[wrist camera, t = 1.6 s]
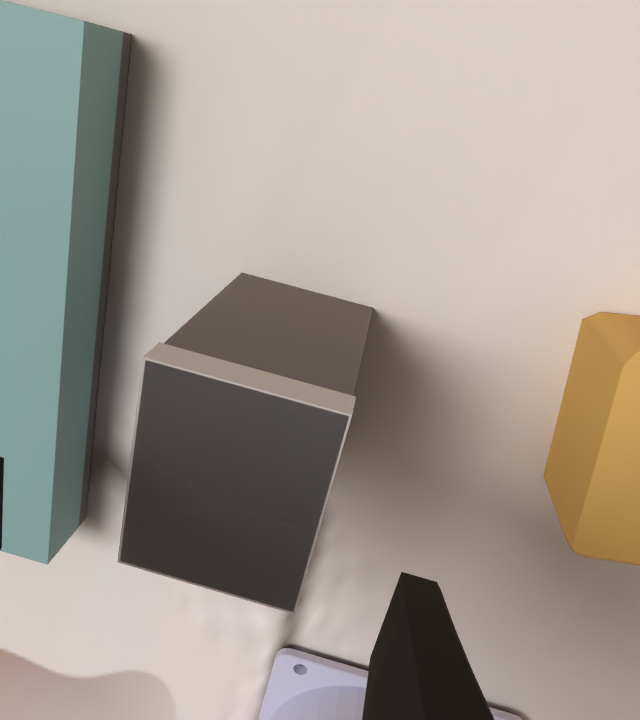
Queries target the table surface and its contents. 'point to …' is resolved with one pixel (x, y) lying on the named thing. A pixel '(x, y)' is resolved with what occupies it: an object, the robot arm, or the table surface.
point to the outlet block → (54, 261)
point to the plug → (242, 439)
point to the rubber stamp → (600, 442)
